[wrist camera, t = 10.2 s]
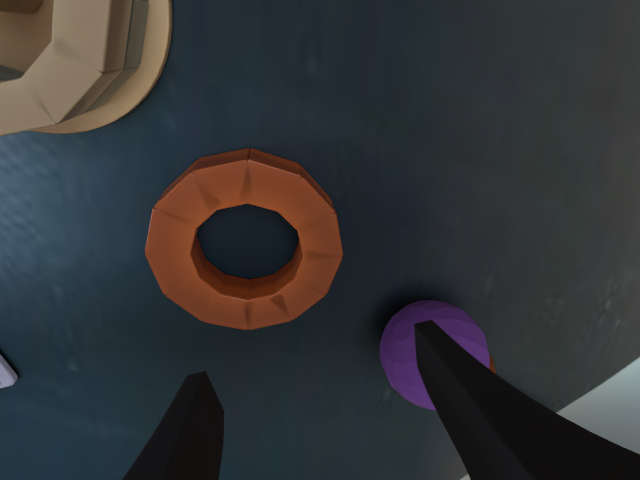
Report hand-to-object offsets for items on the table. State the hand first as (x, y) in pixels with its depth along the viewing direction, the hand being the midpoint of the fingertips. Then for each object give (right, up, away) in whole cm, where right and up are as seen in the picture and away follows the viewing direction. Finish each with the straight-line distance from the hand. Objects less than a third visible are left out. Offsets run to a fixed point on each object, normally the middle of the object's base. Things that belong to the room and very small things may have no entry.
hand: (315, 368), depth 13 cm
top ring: (-4, +5, +7) cm, 9 cm away
